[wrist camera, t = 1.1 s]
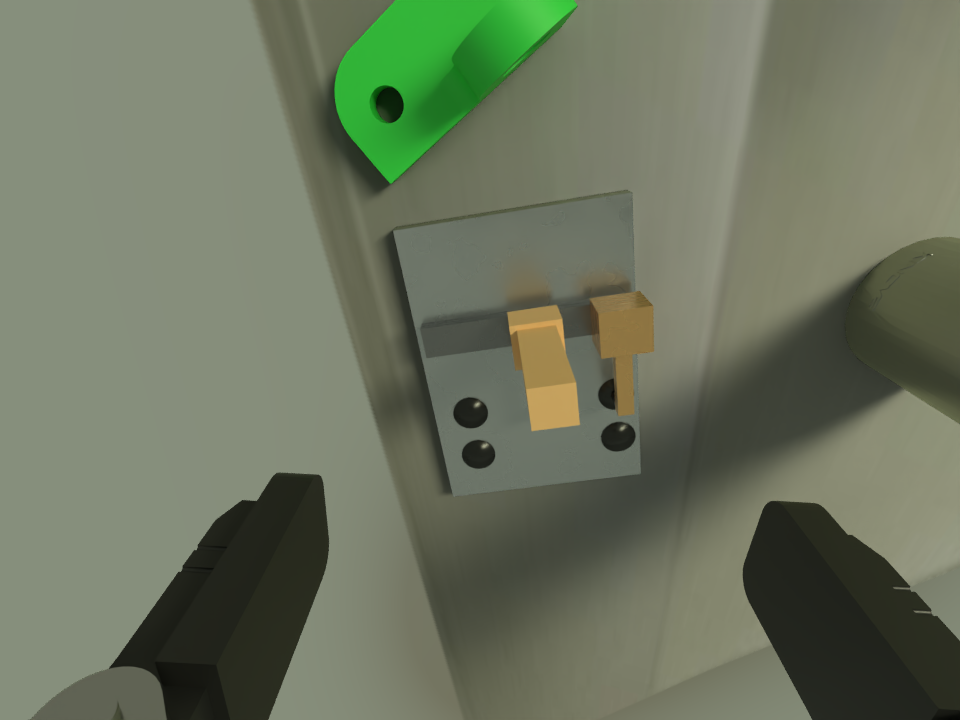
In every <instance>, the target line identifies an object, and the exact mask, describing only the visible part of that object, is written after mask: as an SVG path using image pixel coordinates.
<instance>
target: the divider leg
mask: <svg viewBox="0 0 960 720" xmlns="http://www.w3.org/2000/svg"><path fill="white" fill-rule="evenodd" d="M507 314H508V322H509V330H510V337H511V344H512V351H513V358H514V365H515V371H517V370H522V371H523V378H524V384H525V391H526V397H527V404H528V410H529V417H530V423H531V430H532V431H537V430H545V429H553V428H560V427H568V426H576V425H580V420H579V409H578V397H577V386H576V381H575V378H574V375H573V372H572V369H571V366H570V364H569V361H568V358H567V355H566V351H565V341H564V330H563V320H562V317H561V314H560V312H559V309H558V307H557V305H553V306H546V307H539V308H532V309H525V310H518V311H512V312H507Z"/></svg>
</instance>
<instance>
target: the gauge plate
mask: <svg viewBox="0 0 960 720" xmlns="http://www.w3.org/2000/svg"><path fill="white" fill-rule="evenodd" d="M393 233H394V238H395V242H396V246H397V251H398V255H399V260H400V264H401V269H402V273H403V277H404V282H405V286H406V291H407V295H408V299H409V304H410V308H411V313H412V317H413V322H414V326H415V330H416V335H417V339H418V344H419V348H420V352H421V357H422V361H423V366H424V370H425V375H426V379H427V383H428V388H429V392H430V397H431V401H432V405H433V410H434V414H435V419H436V423H437V427H438V432H439V436H440V441H441V445H442V450H443V454H444V458H445V463H446V467H447V472H448V476H449V480H450V485H451V489H452V494H453V497H454V496H462V495H470V494H479V493H487V492H495V491H503V490H512V489H520V488H528V487H537V486H545V485H553V484H561V483H570V482H578V481H586V480H594V479H603V478H611V477H619V476H628V475H636V474H641V461H640V428H639V396H638V363H637V354H640V353H648V352H654V327H653V305H652V304H651V303H650V302H649V301H648V300H647V299H646V297H645V296H644V295H643V294H642V293H641V292H640V291H637V292H635V266H634V234H633V201H632V192H630V191H628V190H623V191H617V192H611V193H604V194H598V195H592V196H586V197H579V198H573V199H567V200H561V201H555V202H548V203H542V204H536V205H530V206H524V207H517V208H511V209H505V210H499V211H493V212H486V213H480V214H474V215H468V216H462V217H455V218H449V219H443V220H437V221H430V222H424V223H418V224H412V225H406V226H399V227H396V228H395V229H394V230H393ZM553 305H557V307H558V309H559V312H560V314H561V317H562V320H563V330H564V341H565V351H566V355H567V358H568V361H569V364H570V366H571V369H572V372H573V375H574V378H575V381H576V386H577V397H578V409H579V420H580V425H576V426H568V427H560V428H553V429H545V430H537V431H532V430H531V423H530V417H529V410H528V404H527V397H526V391H525V384H524V378H523V371H522V370H517V371H515V365H514V358H513V351H512V344H511V337H510V330H509V322H508V314H507V312H512V311H518V310H525V309H532V308H539V307H546V306H553Z"/></svg>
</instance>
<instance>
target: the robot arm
mask: <svg viewBox="0 0 960 720" xmlns="http://www.w3.org/2000/svg"><path fill="white" fill-rule="evenodd" d="M845 332H846V339H847V342H848V344H849V347H850V349H851V350H852V352H853V353H854V354H855V356H856V357H857V358H858V359H859V360H861V361H862V362H863V363H865V364H866V365H868V366H869V367H871V368H872V369H874V370H876V371H877V372H879V373H880V374H882V375H883V376H885V377H887V378H888V379H890V380H891V381H893V382H895V383H896V384H898V385H899V386H901V387H902V388H904V389H905V390H907V391H908V392H910V393H911V394H913V395H914V396H916V397H918V398H919V399H921V400H922V401H924V402H926V403H927V404H929V405H930V406H932V407H933V408H935V409H937V410H938V411H940V412H941V413H943V414H945V415H946V416H948V417H949V418H951V419H952V420H954V421H956V422H957V423H959V424H960V239H959V238H954V237H937V238H931V239H927V240H922V241H918V242H916V243H913V244H911V245H909V246H906V247H904V248H902V249H900V250H898V251H897V252H895V253H893V254H892V255H890V256H889V257H887V258H886V259H884V260H883V261H882V262H881V263H880V264H879V265H877V266H876V267H875V268H874V269H873V270H872V271H871V272H870V273H869V274H868V275H867V277H866V278H865V279H864V280H863V281H862V282H861V284H860V285H859V287H858V289H857V290H856V292H855V294H854V295H853V297H852V299H851V302H850V305H849V307H848V310H847V314H846V321H845ZM328 551H329V536H328V526H327V516H326V506H325V496H324V486H323V481H322V478H321V476H320V475H313V474H295V473H276V474H275V475H274V476H273V477H272V478H271V480H270V482H269V483H268V485H267V486H266V488H265V489H264V491H263V492H262V494H261V496H260V497H259V499H258V500H257V501H246V500H242V501H241V502H239V503H238V504H236V505H235V506H234V507H233V508H231V509H230V510H228V511H227V512H226V513H225V514H223V515H222V516H221V517H220V518H218V519H217V520H216V521H215V522H214V523H213V524H212V526H211V527H210V529H209V530H208V532H207V533H206V534H205V536H204V537H203V539H202V540H201V541H200V543H199V544H198V548H197V550H194V551H193V553H192V554H191V555H190V557H189V558H188V560H187V561H186V562H185V564H184V565H183V569H182V571H181V572H178V573H177V575H176V576H175V578H174V579H173V581H172V582H171V583H170V585H169V586H168V587H167V589H166V590H165V592H164V593H163V594H162V596H161V597H160V599H159V600H158V601H157V603H156V604H155V606H154V607H153V608H152V610H151V611H150V613H149V614H148V615H147V617H146V619H145V620H144V621H143V623H142V624H141V625H140V627H139V628H138V630H137V631H136V632H135V634H134V635H133V637H132V638H131V639H130V641H129V642H128V644H127V645H126V646H125V648H124V649H123V650H122V652H121V653H120V655H119V656H118V657H117V659H116V660H115V661H114V663H113V664H112V665H111V666H110V668H109V669H107V670H103V671H100V672H97V673H94V674H92V675H89V676H87V677H85V678H83V679H81V680H79V681H77V682H75V683H74V684H72V685H71V686H69V687H67V688H66V689H64V690H63V691H61V692H60V693H59V694H57V695H56V696H55V697H53V698H52V699H51V700H50V701H49V702H48V703H46V704H45V705H44V706H43V707H42V708H41V709H40V710H39V711H38V712H37V713H36V714H35V715H34V716H33V717H32V718H31V719H30V720H268V719H269V716H270V714H271V711H272V708H273V706H274V703H275V701H276V698H277V695H278V693H279V690H280V688H281V685H282V682H283V680H284V677H285V674H286V672H287V669H288V667H289V664H290V661H291V658H292V656H293V654H294V651H295V649H296V646H297V643H298V641H299V638H300V635H301V633H302V630H303V628H304V625H305V622H306V620H307V617H308V615H309V612H310V609H311V607H312V604H313V602H314V599H315V596H316V594H317V591H318V589H319V586H320V583H321V581H322V578H323V575H324V572H325V569H326V564H327V559H328ZM743 583H744V589H745V592H746V595H747V598H748V600H749V603H750V604H751V606H752V608H753V610H754V612H755V614H756V616H757V617H758V619H759V621H760V623H761V625H762V627H763V629H764V630H765V632H766V634H767V636H768V638H769V640H770V642H771V644H772V645H773V647H774V649H775V651H776V653H777V655H778V657H779V658H780V660H781V662H782V664H783V665H784V667H785V670H786V671H787V673H788V675H789V677H790V679H791V681H792V683H793V684H794V686H795V688H796V690H797V691H798V694H799V695H800V697H801V699H802V701H803V703H804V705H805V706H806V708H807V710H808V712H809V714H810V716H811V718H812V720H960V641H959V640H958V639H957V637H956V636H955V635H954V634H953V633H952V632H951V631H950V630H949V629H948V627H946V625H945V624H944V623H943V622H942V621H941V620H940V619H939V618H938V616H933V615H932V613H931V609H930V608H929V607H928V606H927V604H926V603H925V602H924V601H923V600H922V599H921V598H920V597H919V596H918V594H917V593H916V592H911V590H910V586H909V585H908V583H907V582H906V581H905V580H904V579H903V578H902V577H901V576H900V575H899V574H898V572H897V571H896V570H895V569H894V568H893V567H892V566H891V565H890V564H889V563H888V561H887V560H886V559H885V558H883V557H882V556H881V555H879V554H878V553H876V552H875V551H874V550H872V549H871V548H869V547H868V546H867V545H865V544H864V543H862V542H861V541H860V540H858V539H857V538H855V537H854V536H853V535H847V534H846V532H845V531H844V530H843V529H842V528H841V527H840V526H839V524H838V523H837V522H836V521H835V520H834V519H833V518H832V516H831V515H830V514H829V513H828V512H827V511H826V510H825V509H824V508H823V507H822V506H821V505H819V504H816V503H803V502H784V501H770V502H768V503H767V504H766V505H765V507H764V509H763V511H762V514H761V516H760V519H759V522H758V525H757V528H756V531H755V534H754V536H753V539H752V542H751V545H750V548H749V551H748V554H747V557H746V559H745V562H744V567H743Z"/></svg>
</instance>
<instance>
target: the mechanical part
mask: <svg viewBox="0 0 960 720" xmlns="http://www.w3.org/2000/svg"><path fill="white" fill-rule="evenodd" d="M576 8H577V4H576V3H575V1H574V0H395V2H394V3H393V4H392V5H391V6H390V7H389V8H388V9H387V10H386V11H385V12H384V13H383V14H382V15H381V16H380V17H379V19H378V20H377V21H376V22H375V23H374V24H373V25H372V26H371V27H370V28H369V29H368V30H367V31H366V32H365V33H364V34H363V36H362V37H361V38H360V39H359V40H358V41H357V42H356V43H355V44H354V45H353V46H352V47H351V48H350V49H349V51H348V52H347V53H346V55H345V56H344V58H343V60H342V61H341V63H340V66H339V68H338V71H337V75H336V80H335V103H336V108H337V112H338V115H339V118H340V120H341V123H342V125H343V127H344V128H345V130H346V132H347V133H348V135H349V136H350V137H351V138H352V140H353V141H354V142H355V143H356V144H357V145H358V147H359V148H360V149H361V150H362V151H363V152H364V154H365V155H366V156H367V157H368V158H369V159H370V161H371V162H372V163H373V164H374V165H375V167H376V168H377V169H378V170H379V171H380V172H381V174H382V175H383V176H384V177H385V178H386V179H387V181H388V182H389V183H390V184H391V183H393V182H394V181H396V180H397V179H398V178H399V177H400V176H401V175H402V174H403V173H405V172H406V171H407V170H408V169H409V168H410V167H411V166H412V165H413V164H414V163H415V162H416V161H417V160H419V159H420V158H421V157H422V156H423V155H424V154H425V153H426V152H427V151H428V150H429V149H430V148H431V147H433V146H434V145H435V144H436V143H437V142H438V141H439V140H440V139H441V138H442V137H443V136H444V135H445V134H447V133H448V132H449V131H450V130H451V129H452V128H453V127H454V126H455V125H456V124H457V123H458V122H459V121H461V120H462V119H463V118H464V117H465V116H466V115H467V114H468V113H469V112H470V111H471V110H472V109H473V108H475V107H476V106H477V105H478V104H479V103H480V102H481V101H482V100H483V99H484V98H485V97H486V96H487V95H489V94H490V93H491V92H492V91H493V90H494V89H495V88H496V87H497V86H498V85H499V84H500V83H501V82H503V81H504V80H505V79H506V78H507V77H508V76H509V75H510V74H511V73H512V72H513V71H514V70H515V69H517V68H518V67H519V66H520V65H521V64H522V63H523V62H524V61H525V60H526V59H527V58H528V57H530V56H531V55H532V54H533V53H534V52H535V51H536V50H537V49H538V48H539V47H540V46H541V45H542V44H544V43H545V42H546V41H547V40H548V39H549V38H550V37H551V36H552V35H553V34H554V33H555V32H556V31H558V30H559V29H560V28H561V27H562V25H563V24H564V23H565V22H566V20H567V19H568V18H569V17H570V15H571V14H572V13H573V12H574V10H575V9H576ZM390 87H392V88H395V89H396V90H397V91H398V92H399V93H400V94H401V96H402V99H403V103H404V109H403V113H402V115H401V117H400V118H399V119H398V120H397V121H395V122H393V123H388V122H386V121H384V120H383V119H382V118H381V117H380V116H379V114H378V112H377V108H376V100H377V97H378V95H379V93H380V92H381V91H382V90H384V89H386V88H390Z"/></svg>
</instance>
